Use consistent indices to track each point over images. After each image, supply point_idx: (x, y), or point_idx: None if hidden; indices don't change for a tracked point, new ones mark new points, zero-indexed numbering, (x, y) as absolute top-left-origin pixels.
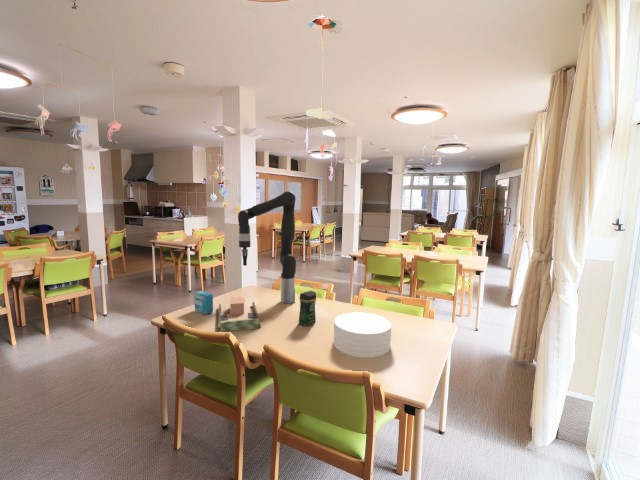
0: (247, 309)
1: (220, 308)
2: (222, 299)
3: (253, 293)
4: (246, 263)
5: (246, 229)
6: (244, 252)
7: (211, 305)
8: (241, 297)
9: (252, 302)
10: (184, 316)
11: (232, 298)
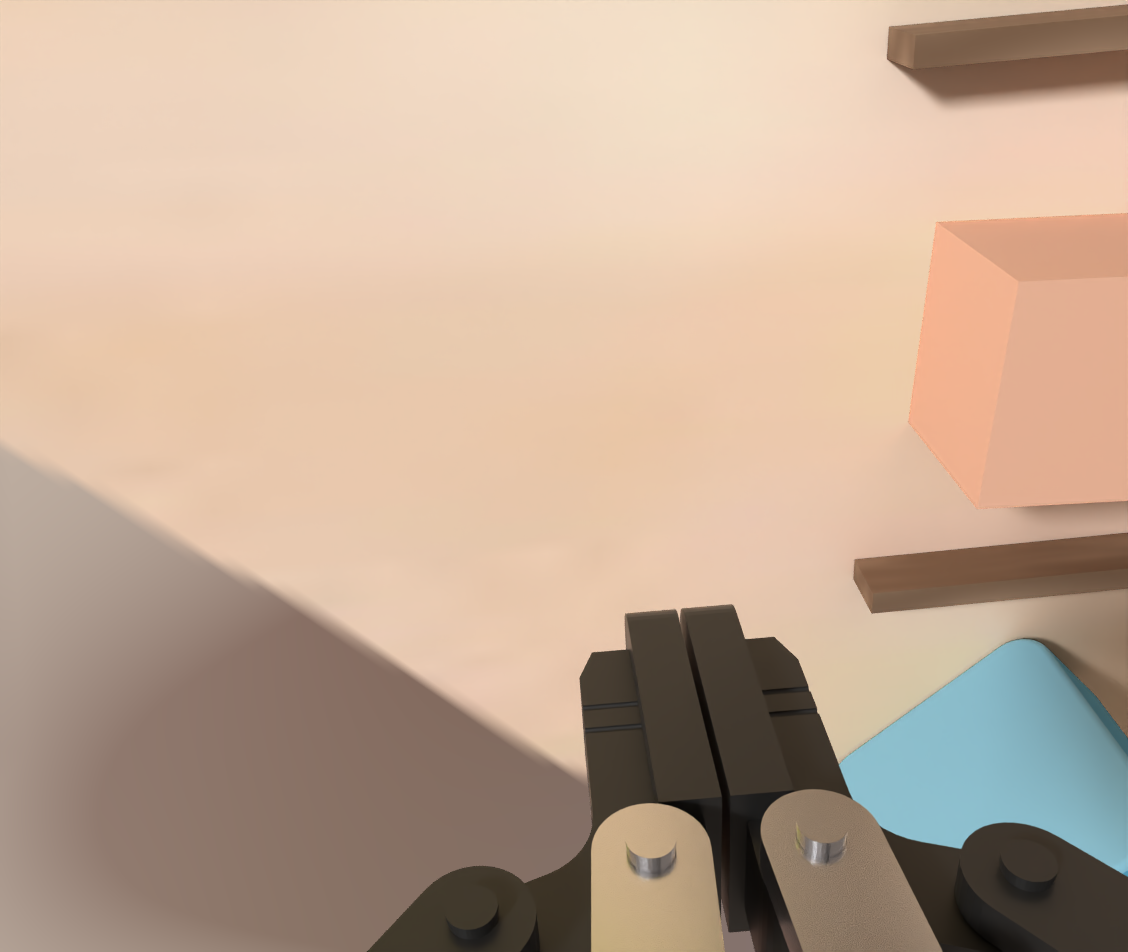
0: (1067, 152)
1: (1080, 574)
2: (446, 578)
3: (47, 35)
4: (747, 658)
5: None
6: None
7: (1099, 712)
8: (1021, 325)
9: (919, 67)
10: None
11: (1027, 480)
